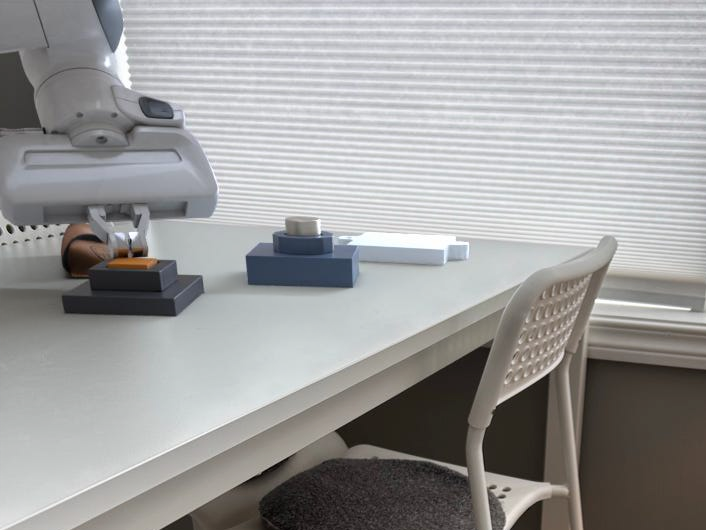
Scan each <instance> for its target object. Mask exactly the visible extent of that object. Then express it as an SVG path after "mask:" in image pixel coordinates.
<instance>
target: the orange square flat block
mask: <svg viewBox="0 0 706 530" xmlns="http://www.w3.org/2000/svg"><path fill="white" fill-rule="evenodd" d="M157 260H158V258H156V257H155V258H153V257H138V258H125V257H120V258H117V259H115V260H113V261H111V262H110V263H108V268H133V269H151V268H152V267H154V266H155V265H157Z"/></svg>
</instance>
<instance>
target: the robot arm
mask: <svg viewBox="0 0 706 530" xmlns="http://www.w3.org/2000/svg"><path fill="white" fill-rule="evenodd" d="M123 16H124V15H123V11H122V7H121V4H120V0H0V55H1V54H9V53H17V52H18V54H19V59H20V61H21V65H22V68H23V71H24V73H25V76H26V77H27V80H28V82H29V83H30V84H31V85H32V87H33V89H34V91H33V101H34V106H35V110H36V114H37V116H38V119H39V123H40V126H41V127H24V128H16V129H15V128H8V127H7V128H6V127H0V213H1V215H2V217H3V219H5V220H6V221H8V222H9V224H11V225H13V226H15V227H30V226H33V227H34V226H52V225H70V224H78V223H86V224H89V226H90V229H91V231H92V232H93V233H94V234H95V235H96V236H97V237H98V238H99V239H101V240H102V241H103V242H104V243H105V244H106V245H108V247H109V251H110V254H111V257H112V259H117V258H120V257H125V258H128V257H129V255H128V253H129V250H130V251H131V252H130V254H131V257H132V258H149V244H148V241H147V238H146V237H147V234H148V231H149V228H150V221H165V220H166V221H167V220H186V219H188V220H189V219H207V218H211V217H212V216H213V215H214V213H215V211H216V209H217V207H218V204H219V198H220V187H219V183H218V180H217V177H216V175H215V174H216V173H215V172H214V169H213V167H212V164H211V162H210V160H209V158H208V156H207V153H206V152H205V149H204V148H203V145H202V143H200V141H199V140H198V139H197V137H196V136H195V135H194V134H193V133H191V132H190V131H189V130H186V129H187V128H186V127H187V125H186V124H187V123H186V115H185V111H184V109H183V108H182V106H180V105H179V104H177V103H175V102H171V101H168V100H164V99H160V98H157V97H153V96H150V95H147V94H144V93H141V92H138V91H135V90H133V89H130V88H127V87H126V85H124V83H123V82H122V80H121V79H120V77H119V75H118V60H117V55H116V51H117V49H118V47H119V44H120V42H121V39H122V36H123V33H124V17H123ZM119 222H131V223H132V225H133V228H134V229H136V231H128V232H127V237H126V234H125V232H116V231H115V230H114V229H113V228H112V227H111V226H110V225H109V224H108V223H119Z"/></svg>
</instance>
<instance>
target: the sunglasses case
mask: <svg viewBox="0 0 706 530" xmlns="http://www.w3.org/2000/svg"><path fill="white" fill-rule="evenodd" d="M130 252H131V251H130V250H129V253H128V255H129V257H128V258H132V257H131V254H130ZM108 258H112V257H111V254H110V251H109V247H108V245H106V244H105V243H104V242H103V241H102V240H101V239H99V238H98V237H97V236H96V235H95V234H94V233H93V232H92V231H91V229H90V226H89V223H78V224H68V226H67V227H66V228H65V231H64V233H63V236H62V239H61V247H60V261H61V265H62V268H63V270H64V271H66V272H67V273H68V274H69V276H71V277H72V278H75V279H80V278H82V279H89V276H88V269H90V268H91V267H93V266H95V265H97V264H99V263H100V262H102V261H104V260H106V259H108Z"/></svg>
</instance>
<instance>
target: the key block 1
mask: <svg viewBox="0 0 706 530" xmlns="http://www.w3.org/2000/svg"><path fill="white" fill-rule="evenodd" d="M113 260H115V259H112V258H108V259H106V260H104V261H102V262H100V263H99V264H97V265H95V266H93V267H91V268H90V269H88V276H89V278H88V280H86V281H84V282H82V283H81V284H79V285H77V286H76V287H74V288H72V289H70V290H68V291H66V292H65V293H63V294H62V295H61V301H62V307H63V312H64V314H65V315H66V314H67V315H69V314H70V315H71V314H72V315H74V314H75V315H104V316H105V315H107V316H110V315H111V316H143V317H144V316H147V317H177V316H179V315H180V314H181V313H182V312H183V311H184V310H185V309H186V308H188V307H189V306H190V305H192V303H193V302H194V301H196V300H197V299H198V298H199V297H200V296H202V294H205V287H204V278H203V274H178V264H177V260H176V259H157V265H155V266H154V267H152V268H151V269H133V268H108V263H110V262H111V261H113Z"/></svg>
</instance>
